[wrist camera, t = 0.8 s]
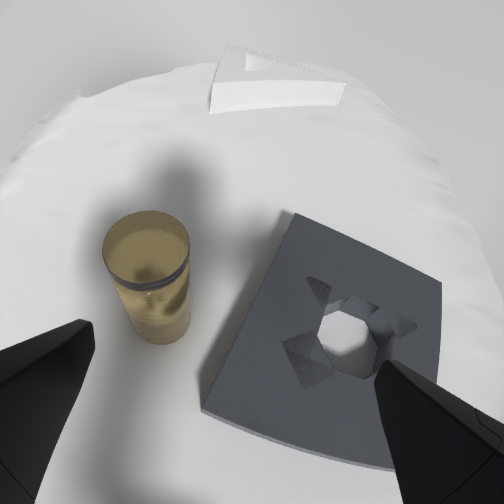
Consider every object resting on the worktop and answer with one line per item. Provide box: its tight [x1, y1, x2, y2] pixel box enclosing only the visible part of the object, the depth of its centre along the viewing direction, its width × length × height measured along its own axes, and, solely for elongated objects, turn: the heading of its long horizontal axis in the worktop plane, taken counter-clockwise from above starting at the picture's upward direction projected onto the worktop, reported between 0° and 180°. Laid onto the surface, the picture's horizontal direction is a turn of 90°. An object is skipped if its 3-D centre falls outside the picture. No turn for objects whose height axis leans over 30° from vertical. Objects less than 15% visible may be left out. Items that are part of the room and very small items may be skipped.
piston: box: [102, 211, 190, 345], centre depth 20 cm, size 5×5×10 cm
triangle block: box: [209, 44, 346, 114], centre depth 50 cm, size 30×26×6 cm
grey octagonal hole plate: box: [201, 213, 442, 472], centre depth 23 cm, size 20×18×3 cm
